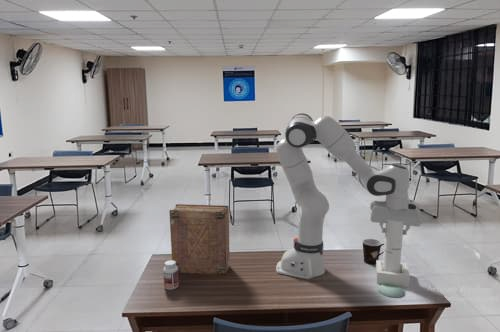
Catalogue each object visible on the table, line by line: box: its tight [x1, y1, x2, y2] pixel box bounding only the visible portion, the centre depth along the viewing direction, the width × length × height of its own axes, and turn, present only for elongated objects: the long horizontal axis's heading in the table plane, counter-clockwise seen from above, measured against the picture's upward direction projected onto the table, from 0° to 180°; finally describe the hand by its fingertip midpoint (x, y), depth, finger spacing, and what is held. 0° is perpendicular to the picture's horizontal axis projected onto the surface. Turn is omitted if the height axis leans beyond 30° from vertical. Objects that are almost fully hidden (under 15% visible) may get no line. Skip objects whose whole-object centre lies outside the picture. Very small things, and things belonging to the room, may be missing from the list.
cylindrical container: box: [382, 220, 405, 273], centre depth 172 cm, size 7×7×25 cm
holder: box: [375, 259, 411, 288], centre depth 174 cm, size 13×13×5 cm
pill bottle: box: [162, 259, 180, 290], centre depth 168 cm, size 6×6×11 cm
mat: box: [378, 284, 405, 298], centre depth 163 cm, size 10×10×1 cm
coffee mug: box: [362, 238, 384, 266], centre depth 190 cm, size 12×9×10 cm
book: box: [169, 203, 231, 276], centre depth 182 cm, size 25×9×30 cm, turn 82°
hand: (393, 233), depth 171 cm, fingers closed on cylindrical container, 7 cm apart
